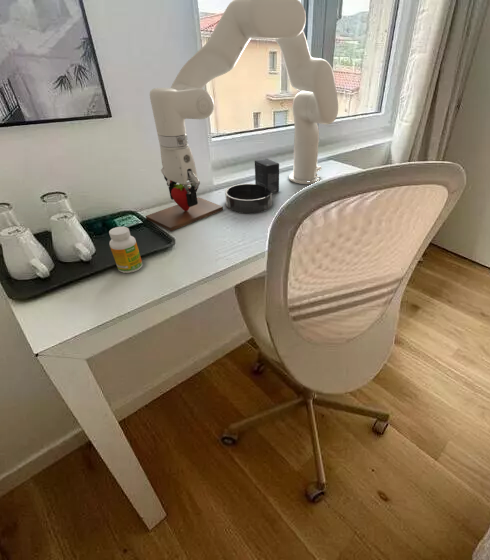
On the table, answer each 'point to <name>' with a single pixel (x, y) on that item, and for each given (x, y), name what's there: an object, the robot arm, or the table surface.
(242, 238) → the table surface
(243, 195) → the pan
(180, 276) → the table surface
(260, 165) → the box
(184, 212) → the cutting board
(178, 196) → the strawberry
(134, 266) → the supplement bottle
